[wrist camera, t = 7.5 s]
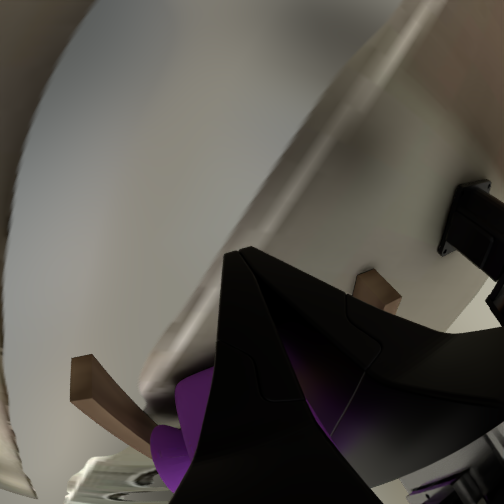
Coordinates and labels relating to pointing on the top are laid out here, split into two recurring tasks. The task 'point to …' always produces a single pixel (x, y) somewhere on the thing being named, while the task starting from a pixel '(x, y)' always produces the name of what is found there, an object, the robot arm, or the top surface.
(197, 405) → the toy camera
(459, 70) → the top surface
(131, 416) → the walnut dock
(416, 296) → the top surface
